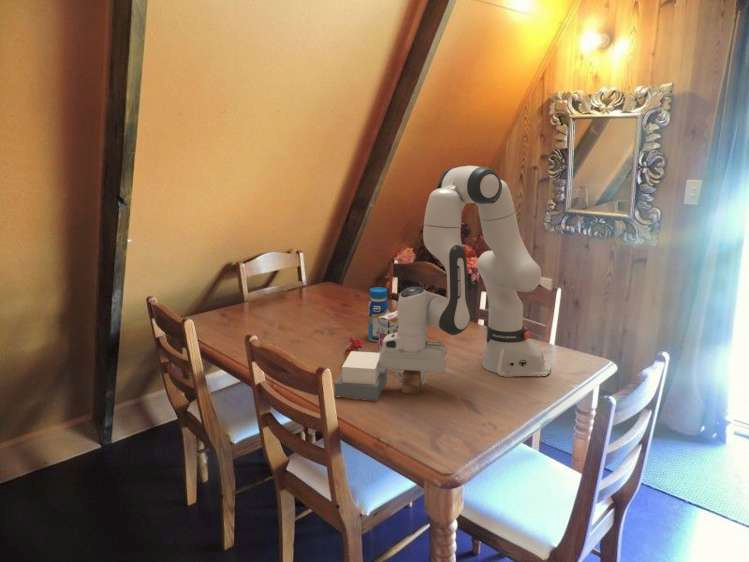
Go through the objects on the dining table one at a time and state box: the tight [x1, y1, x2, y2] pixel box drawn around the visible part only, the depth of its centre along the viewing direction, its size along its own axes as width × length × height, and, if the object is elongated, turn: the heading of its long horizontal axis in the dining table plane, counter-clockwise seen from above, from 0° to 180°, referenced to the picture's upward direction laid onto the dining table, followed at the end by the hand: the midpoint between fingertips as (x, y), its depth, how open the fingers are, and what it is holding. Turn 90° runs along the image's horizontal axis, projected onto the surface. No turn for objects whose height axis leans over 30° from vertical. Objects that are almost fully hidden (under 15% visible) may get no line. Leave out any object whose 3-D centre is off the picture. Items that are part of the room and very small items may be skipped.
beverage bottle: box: [367, 287, 391, 343], centre depth 214 cm, size 8×8×20 cm
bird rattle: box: [342, 336, 365, 362], centre depth 189 cm, size 6×11×9 cm
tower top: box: [341, 351, 382, 385], centre depth 172 cm, size 10×13×5 cm
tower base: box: [334, 368, 388, 402], centre depth 173 cm, size 13×15×5 cm
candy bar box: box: [377, 310, 399, 353], centre depth 195 cm, size 11×5×16 cm, turn 141°
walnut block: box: [402, 370, 422, 395], centre depth 172 cm, size 5×5×6 cm
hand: (411, 382), depth 172 cm, fingers closed on walnut block, 5 cm apart
